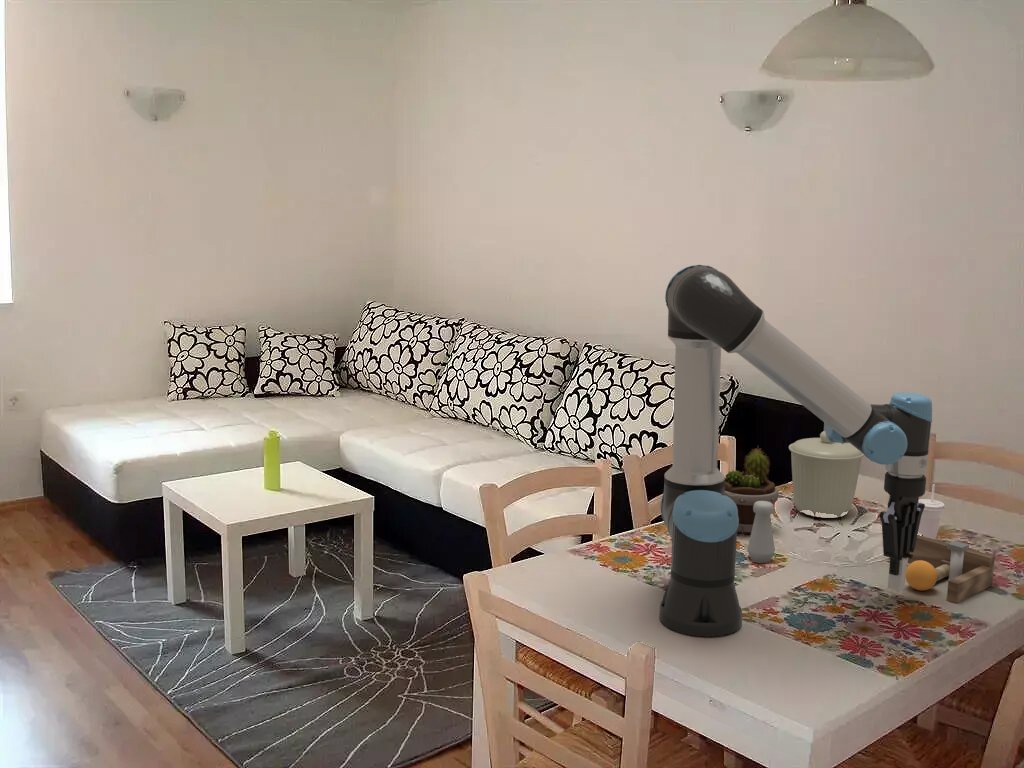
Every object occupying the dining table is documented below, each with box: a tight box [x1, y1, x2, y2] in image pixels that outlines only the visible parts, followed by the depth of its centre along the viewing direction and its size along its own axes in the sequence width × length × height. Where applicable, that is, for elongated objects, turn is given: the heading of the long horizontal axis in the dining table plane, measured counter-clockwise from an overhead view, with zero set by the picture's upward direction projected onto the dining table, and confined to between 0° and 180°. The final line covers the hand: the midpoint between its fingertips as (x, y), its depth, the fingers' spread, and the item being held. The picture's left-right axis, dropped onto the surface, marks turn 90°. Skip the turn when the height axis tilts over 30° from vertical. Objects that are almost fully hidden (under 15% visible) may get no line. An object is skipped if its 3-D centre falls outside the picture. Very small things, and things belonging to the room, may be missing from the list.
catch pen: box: [907, 535, 996, 604], centre depth 216 cm, size 16×18×6 cm
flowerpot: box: [724, 445, 780, 537], centre depth 246 cm, size 14×15×20 cm
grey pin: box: [947, 540, 970, 581], centre depth 214 cm, size 3×3×9 cm
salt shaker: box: [747, 501, 776, 564], centre depth 227 cm, size 6×6×13 cm
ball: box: [905, 560, 937, 592], centre depth 211 cm, size 6×6×6 cm
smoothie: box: [918, 483, 945, 540], centre depth 239 cm, size 6×6×14 cm
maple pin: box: [935, 560, 950, 582], centre depth 217 cm, size 3×3×9 cm
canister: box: [788, 430, 865, 516], centre depth 260 cm, size 18×18×21 cm
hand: (895, 588), depth 207 cm, fingers closed
